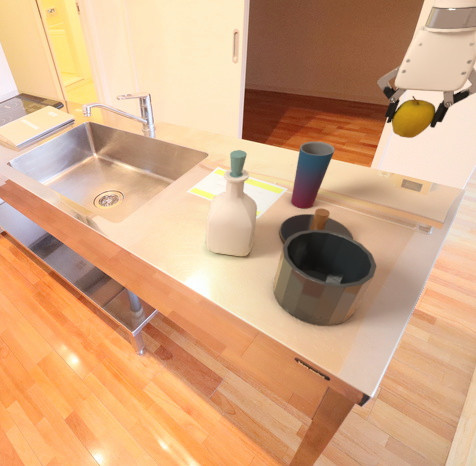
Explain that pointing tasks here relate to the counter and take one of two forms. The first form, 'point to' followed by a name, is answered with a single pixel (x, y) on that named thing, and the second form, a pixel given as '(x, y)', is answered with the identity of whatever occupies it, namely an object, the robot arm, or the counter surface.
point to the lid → (312, 224)
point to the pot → (322, 276)
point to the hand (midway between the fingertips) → (410, 122)
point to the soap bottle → (232, 213)
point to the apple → (412, 117)
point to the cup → (310, 172)
